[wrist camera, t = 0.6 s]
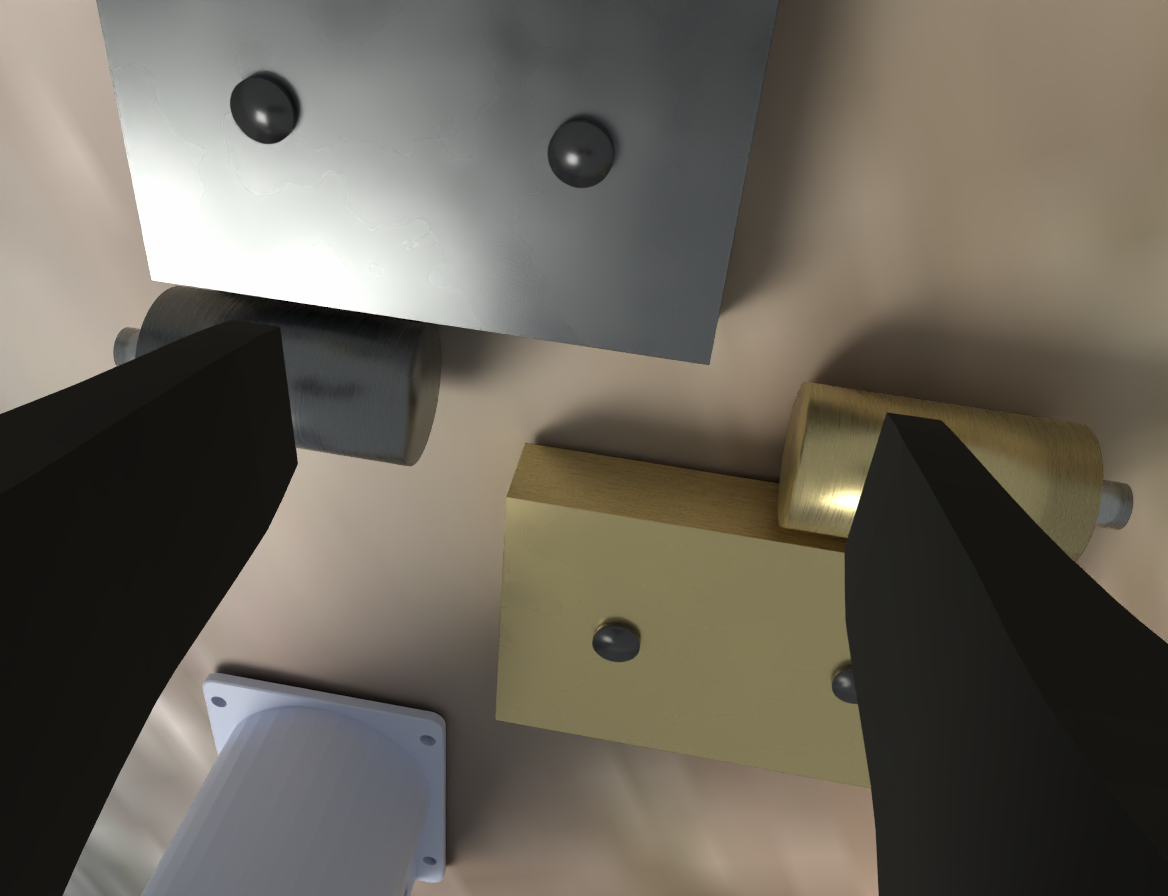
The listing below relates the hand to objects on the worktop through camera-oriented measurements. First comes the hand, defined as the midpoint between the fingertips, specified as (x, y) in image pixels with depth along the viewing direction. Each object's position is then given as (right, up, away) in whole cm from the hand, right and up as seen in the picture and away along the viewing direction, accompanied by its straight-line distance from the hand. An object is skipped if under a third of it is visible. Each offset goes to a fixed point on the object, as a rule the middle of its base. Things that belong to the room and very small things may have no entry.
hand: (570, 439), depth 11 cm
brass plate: (+5, -3, +13) cm, 14 cm away
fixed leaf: (-3, +6, +9) cm, 11 cm away
